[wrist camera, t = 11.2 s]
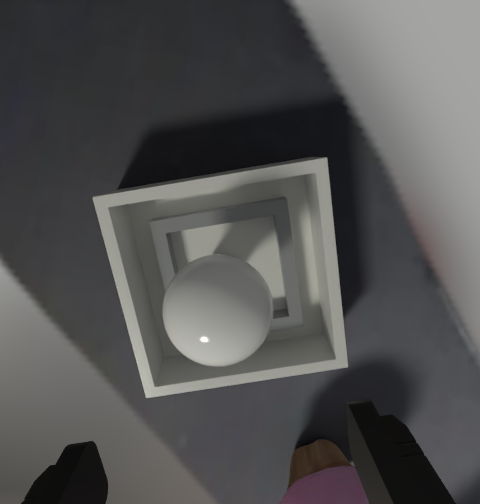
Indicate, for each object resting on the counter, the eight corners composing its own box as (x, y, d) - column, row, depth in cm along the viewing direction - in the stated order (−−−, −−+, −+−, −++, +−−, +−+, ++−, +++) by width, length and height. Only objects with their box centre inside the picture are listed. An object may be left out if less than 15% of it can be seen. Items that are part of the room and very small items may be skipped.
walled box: (116, 189, 28) (92, 197, 23) (310, 156, 28) (327, 157, 23) (159, 361, 32) (146, 398, 27) (330, 334, 32) (348, 367, 27)
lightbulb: (199, 216, 28) (176, 254, 17) (275, 247, 28) (300, 301, 18) (171, 289, 29) (134, 366, 19) (244, 317, 30) (249, 406, 19)
